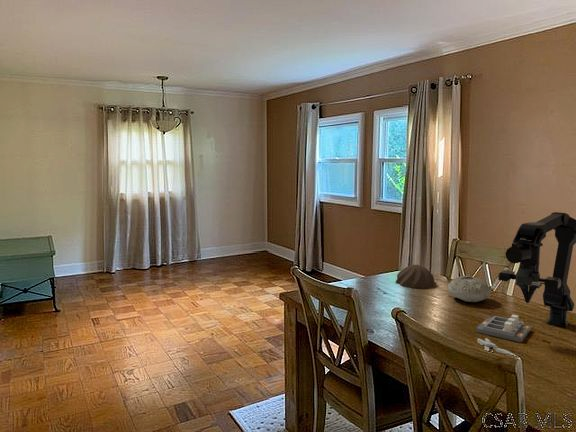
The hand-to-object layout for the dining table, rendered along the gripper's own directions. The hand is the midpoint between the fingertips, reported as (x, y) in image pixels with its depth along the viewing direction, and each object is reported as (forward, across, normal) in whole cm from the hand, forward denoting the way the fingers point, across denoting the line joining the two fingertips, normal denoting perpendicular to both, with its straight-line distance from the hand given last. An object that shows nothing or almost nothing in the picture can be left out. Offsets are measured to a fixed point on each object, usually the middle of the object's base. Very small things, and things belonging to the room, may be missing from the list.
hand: (527, 302), depth 154 cm
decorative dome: (+12, -61, +39) cm, 73 cm away
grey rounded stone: (+12, -30, +28) cm, 43 cm away
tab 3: (+10, -5, +4) cm, 12 cm away
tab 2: (+11, -5, -1) cm, 12 cm away
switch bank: (+12, -7, -1) cm, 14 cm away
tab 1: (+11, -5, -5) cm, 13 cm away
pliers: (+13, -5, -20) cm, 25 cm away
